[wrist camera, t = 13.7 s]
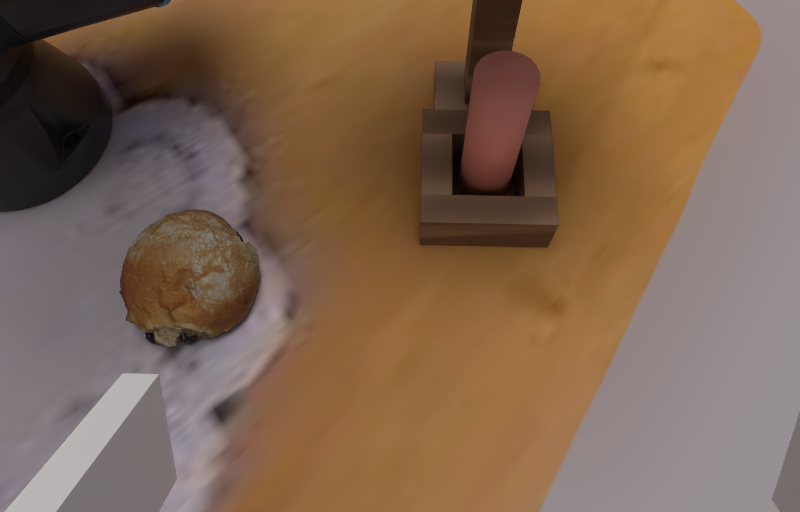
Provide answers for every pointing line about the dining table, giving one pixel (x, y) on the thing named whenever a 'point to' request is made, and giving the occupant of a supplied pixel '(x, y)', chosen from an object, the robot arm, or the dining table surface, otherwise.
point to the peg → (496, 121)
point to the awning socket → (443, 144)
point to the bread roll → (188, 278)
